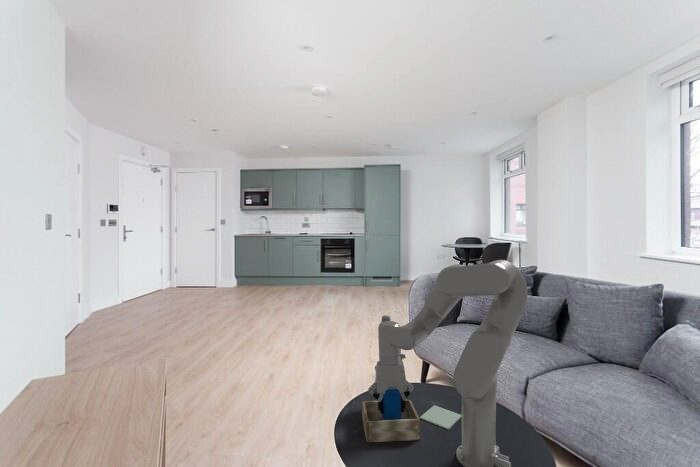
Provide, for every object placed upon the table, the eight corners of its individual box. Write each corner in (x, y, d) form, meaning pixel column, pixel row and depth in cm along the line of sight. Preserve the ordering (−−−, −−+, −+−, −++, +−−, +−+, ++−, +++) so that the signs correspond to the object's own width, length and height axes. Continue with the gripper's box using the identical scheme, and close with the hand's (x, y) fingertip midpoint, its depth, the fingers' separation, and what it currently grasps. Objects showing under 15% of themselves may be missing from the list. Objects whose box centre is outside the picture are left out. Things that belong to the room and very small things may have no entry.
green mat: (461, 416, 127) (461, 415, 127) (448, 429, 118) (448, 428, 118) (434, 406, 134) (434, 405, 134) (419, 418, 126) (419, 417, 126)
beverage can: (401, 415, 122) (400, 381, 122) (402, 425, 115) (401, 389, 115) (382, 414, 122) (381, 380, 122) (382, 425, 116) (381, 389, 116)
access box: (410, 417, 127) (410, 399, 126) (420, 439, 113) (420, 419, 113) (362, 419, 125) (362, 401, 125) (366, 442, 112) (366, 422, 112)
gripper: (412, 353, 123) (413, 404, 123) (363, 356, 122) (365, 407, 122) (418, 361, 116) (419, 415, 116) (366, 364, 114) (367, 418, 114)
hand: (391, 410), depth 119 cm, fingers closed on beverage can, 6 cm apart
